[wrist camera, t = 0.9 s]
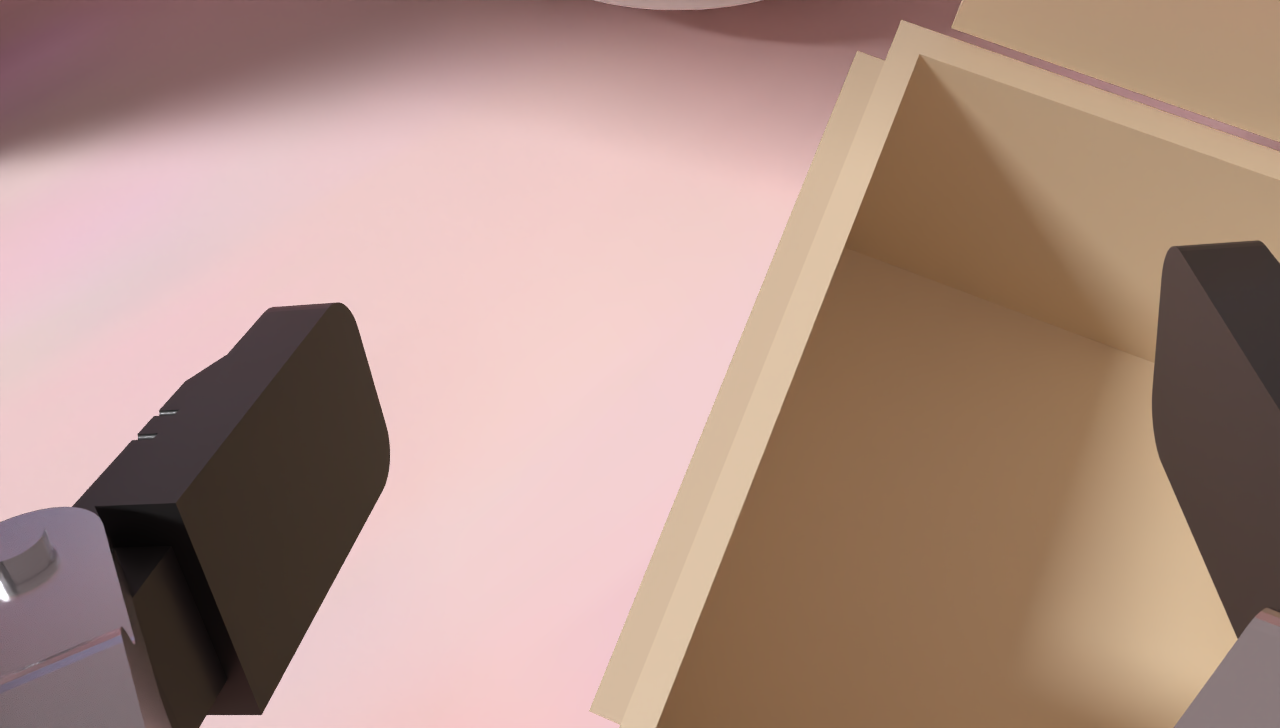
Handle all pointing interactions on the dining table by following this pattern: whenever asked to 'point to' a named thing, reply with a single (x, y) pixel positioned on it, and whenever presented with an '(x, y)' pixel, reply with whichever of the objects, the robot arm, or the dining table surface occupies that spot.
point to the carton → (950, 424)
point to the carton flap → (1153, 49)
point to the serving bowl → (677, 4)
